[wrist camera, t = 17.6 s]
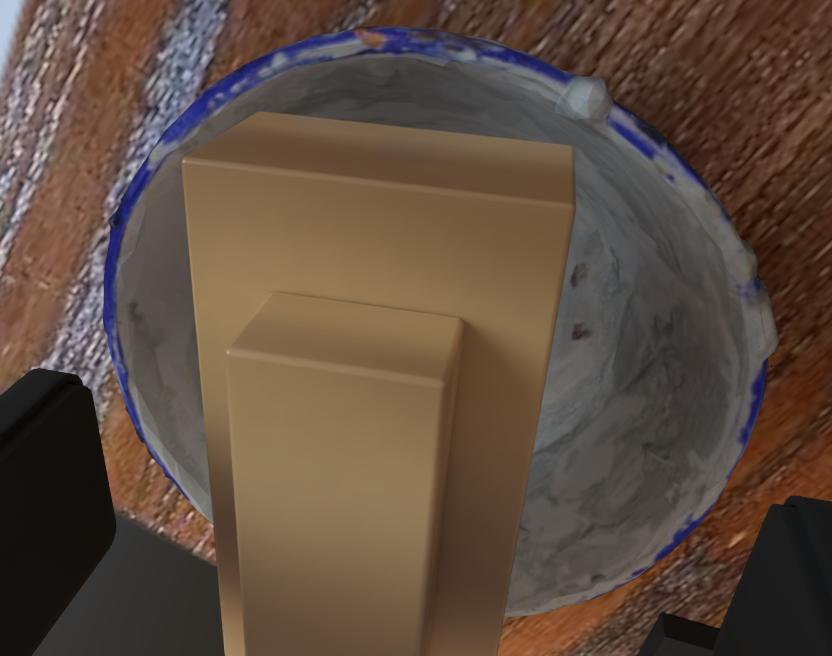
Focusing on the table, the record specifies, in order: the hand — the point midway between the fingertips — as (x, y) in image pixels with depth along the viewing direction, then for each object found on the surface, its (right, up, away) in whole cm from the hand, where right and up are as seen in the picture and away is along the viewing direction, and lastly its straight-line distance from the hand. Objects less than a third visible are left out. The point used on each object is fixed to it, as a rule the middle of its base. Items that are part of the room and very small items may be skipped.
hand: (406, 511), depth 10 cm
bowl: (+1, +4, +8) cm, 9 cm away
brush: (0, +1, +4) cm, 4 cm away
